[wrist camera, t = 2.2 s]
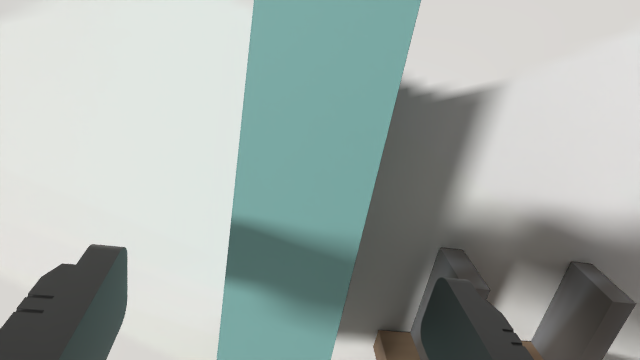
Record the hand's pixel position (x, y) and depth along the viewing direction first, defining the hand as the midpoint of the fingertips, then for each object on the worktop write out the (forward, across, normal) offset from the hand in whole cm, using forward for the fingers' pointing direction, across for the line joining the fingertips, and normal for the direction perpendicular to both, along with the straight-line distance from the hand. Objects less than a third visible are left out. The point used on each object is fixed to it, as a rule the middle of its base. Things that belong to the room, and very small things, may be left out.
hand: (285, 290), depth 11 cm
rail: (+8, 0, 0) cm, 8 cm away
